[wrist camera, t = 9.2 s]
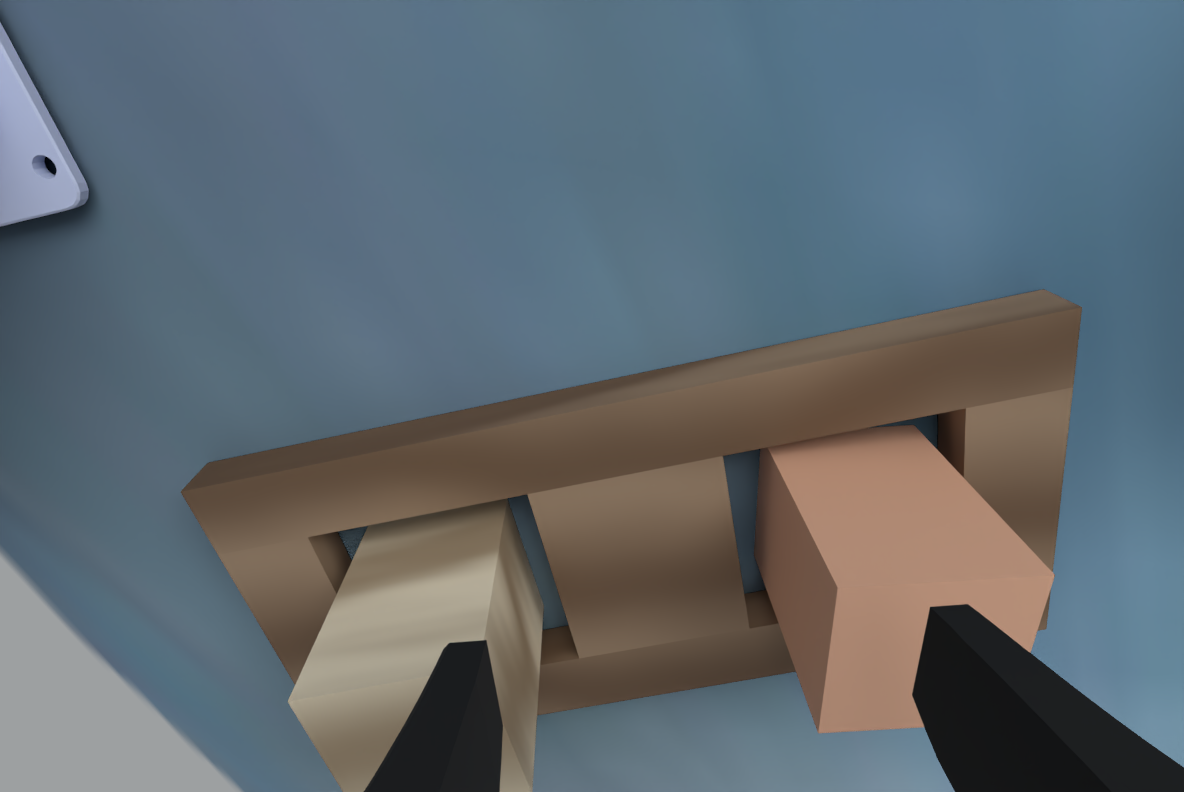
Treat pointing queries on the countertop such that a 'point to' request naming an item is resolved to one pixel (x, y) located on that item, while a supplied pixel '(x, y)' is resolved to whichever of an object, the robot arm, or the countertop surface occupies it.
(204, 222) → the countertop surface
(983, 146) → the countertop surface
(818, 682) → the terracotta block
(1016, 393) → the puzzle board
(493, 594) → the maple block
